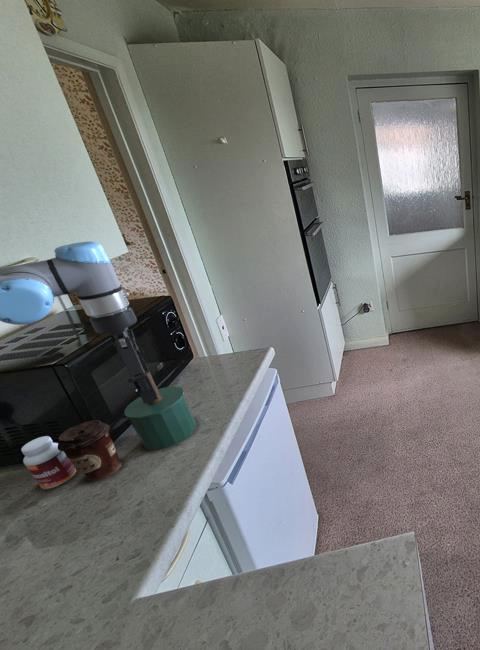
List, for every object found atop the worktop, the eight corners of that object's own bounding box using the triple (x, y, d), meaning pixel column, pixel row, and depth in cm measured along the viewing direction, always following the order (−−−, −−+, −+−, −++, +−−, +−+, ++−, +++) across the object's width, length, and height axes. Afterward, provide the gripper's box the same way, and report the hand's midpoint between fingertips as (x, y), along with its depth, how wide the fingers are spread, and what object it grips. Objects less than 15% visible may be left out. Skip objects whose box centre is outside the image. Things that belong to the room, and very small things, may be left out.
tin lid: (114, 426, 90) (96, 394, 86) (142, 395, 101) (127, 365, 97) (172, 415, 92) (157, 383, 88) (193, 386, 103) (180, 357, 99)
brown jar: (106, 487, 86) (78, 443, 80) (71, 489, 86) (41, 445, 81) (136, 458, 93) (113, 416, 88) (104, 459, 94) (79, 417, 89)
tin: (135, 455, 94) (117, 422, 90) (158, 425, 104) (142, 394, 100) (185, 445, 96) (169, 412, 92) (203, 417, 106) (189, 386, 102)
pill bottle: (35, 494, 85) (8, 457, 81) (50, 474, 91) (25, 439, 86) (70, 484, 87) (45, 447, 83) (82, 465, 93) (59, 430, 88)
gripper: (135, 320, 79) (173, 403, 88) (127, 293, 97) (159, 364, 105) (87, 333, 75) (133, 419, 83) (88, 303, 92) (126, 376, 101)
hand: (148, 389), depth 94 cm, fingers open, 13 cm apart
